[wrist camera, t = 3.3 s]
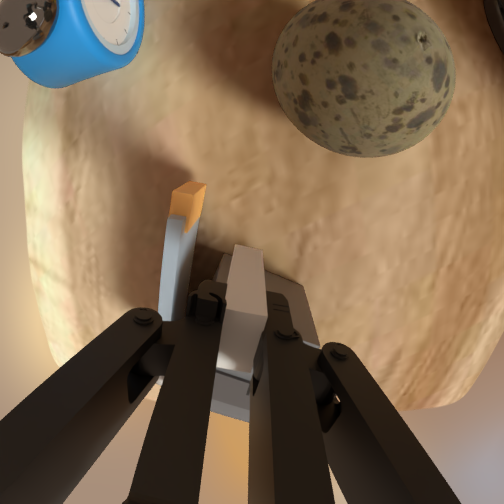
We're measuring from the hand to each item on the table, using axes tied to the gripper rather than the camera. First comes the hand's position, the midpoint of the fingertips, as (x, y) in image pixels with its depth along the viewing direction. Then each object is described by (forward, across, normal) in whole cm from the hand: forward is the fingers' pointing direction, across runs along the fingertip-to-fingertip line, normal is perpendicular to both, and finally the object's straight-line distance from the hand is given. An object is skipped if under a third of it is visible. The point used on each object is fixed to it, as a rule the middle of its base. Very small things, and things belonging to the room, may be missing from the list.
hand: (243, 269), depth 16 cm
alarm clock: (+10, -16, +16) cm, 25 cm away
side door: (+10, -5, -5) cm, 12 cm away
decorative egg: (+10, +4, +13) cm, 17 cm away
